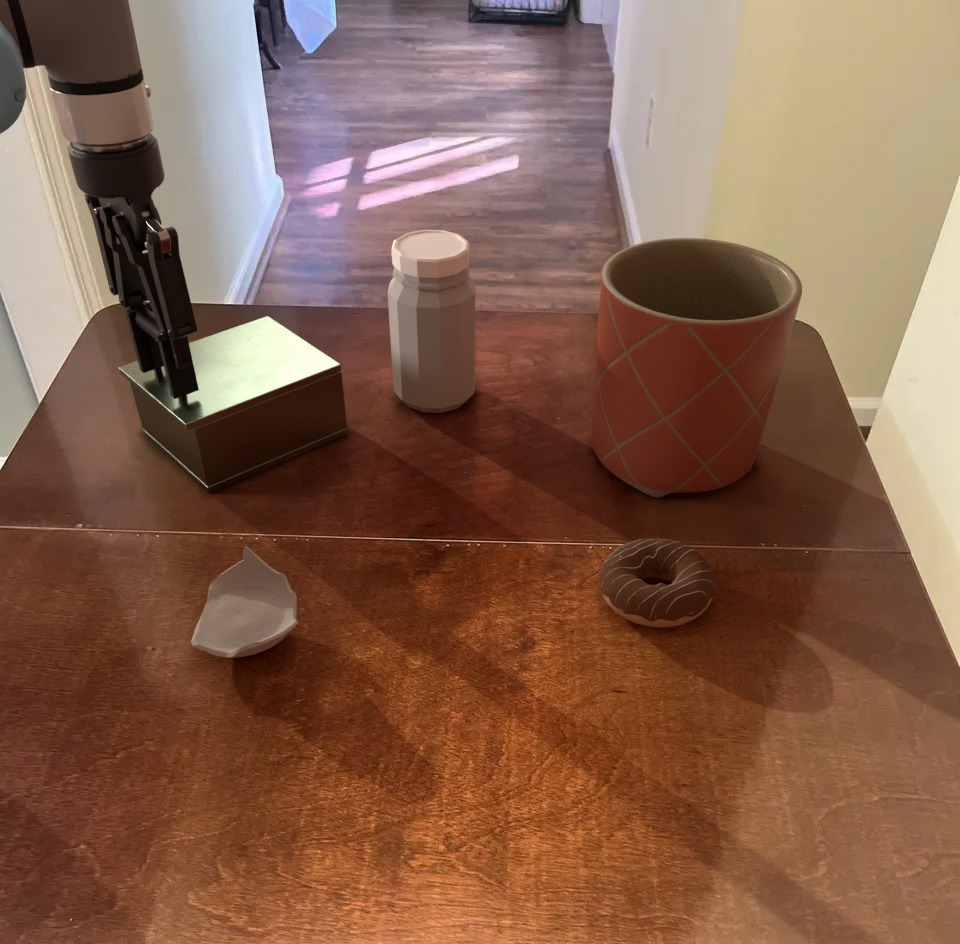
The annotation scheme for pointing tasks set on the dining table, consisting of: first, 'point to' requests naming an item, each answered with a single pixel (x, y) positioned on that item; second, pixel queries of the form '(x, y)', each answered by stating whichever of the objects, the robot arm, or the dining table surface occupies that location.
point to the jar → (432, 320)
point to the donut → (658, 602)
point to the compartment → (249, 432)
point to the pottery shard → (246, 610)
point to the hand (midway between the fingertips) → (169, 379)
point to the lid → (230, 369)
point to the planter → (688, 361)
